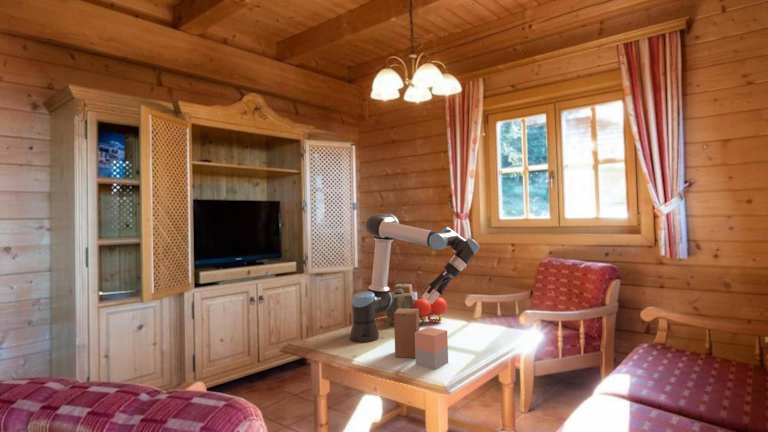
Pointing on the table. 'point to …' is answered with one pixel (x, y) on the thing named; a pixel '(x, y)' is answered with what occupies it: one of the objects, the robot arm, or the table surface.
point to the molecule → (430, 309)
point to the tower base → (431, 358)
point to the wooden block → (405, 332)
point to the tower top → (431, 339)
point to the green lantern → (405, 288)
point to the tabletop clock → (399, 302)
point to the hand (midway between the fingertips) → (426, 300)
